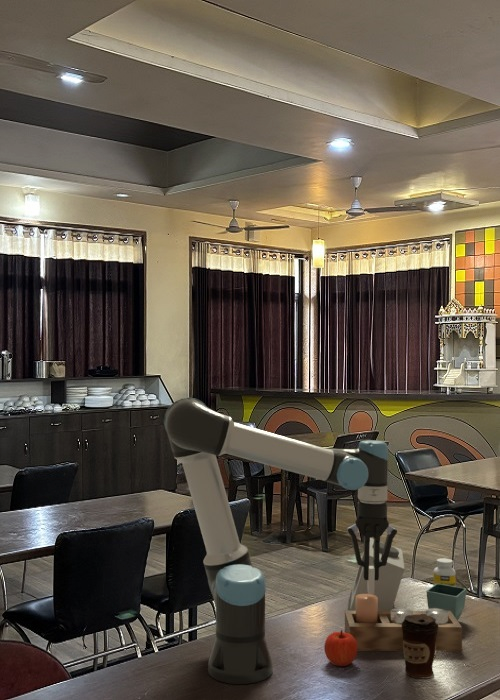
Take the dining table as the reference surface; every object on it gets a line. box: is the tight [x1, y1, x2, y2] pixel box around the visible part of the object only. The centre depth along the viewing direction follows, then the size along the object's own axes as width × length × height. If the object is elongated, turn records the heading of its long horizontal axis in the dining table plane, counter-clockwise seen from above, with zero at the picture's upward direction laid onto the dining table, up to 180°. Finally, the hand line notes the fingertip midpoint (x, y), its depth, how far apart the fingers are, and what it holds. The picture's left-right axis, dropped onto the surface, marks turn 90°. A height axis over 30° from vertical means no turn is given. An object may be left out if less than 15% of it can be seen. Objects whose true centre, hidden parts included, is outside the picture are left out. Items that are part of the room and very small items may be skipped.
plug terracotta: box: [356, 594, 378, 623], centre depth 203 cm, size 6×6×7 cm
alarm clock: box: [347, 537, 405, 611], centre depth 225 cm, size 20×16×20 cm
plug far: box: [425, 608, 448, 624], centre depth 203 cm, size 6×6×7 cm
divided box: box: [344, 609, 463, 652], centre depth 203 cm, size 28×12×6 cm, turn 89°
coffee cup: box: [402, 614, 438, 679], centre depth 183 cm, size 9×8×13 cm
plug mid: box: [391, 607, 413, 623], centre depth 203 cm, size 6×6×7 cm
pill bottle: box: [433, 557, 457, 587], centre depth 238 cm, size 6×6×12 cm
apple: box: [323, 629, 359, 667], centre depth 189 cm, size 8×8×8 cm
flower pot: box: [426, 584, 467, 622], centre depth 218 cm, size 9×9×9 cm
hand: (370, 592), depth 203 cm, fingers closed
